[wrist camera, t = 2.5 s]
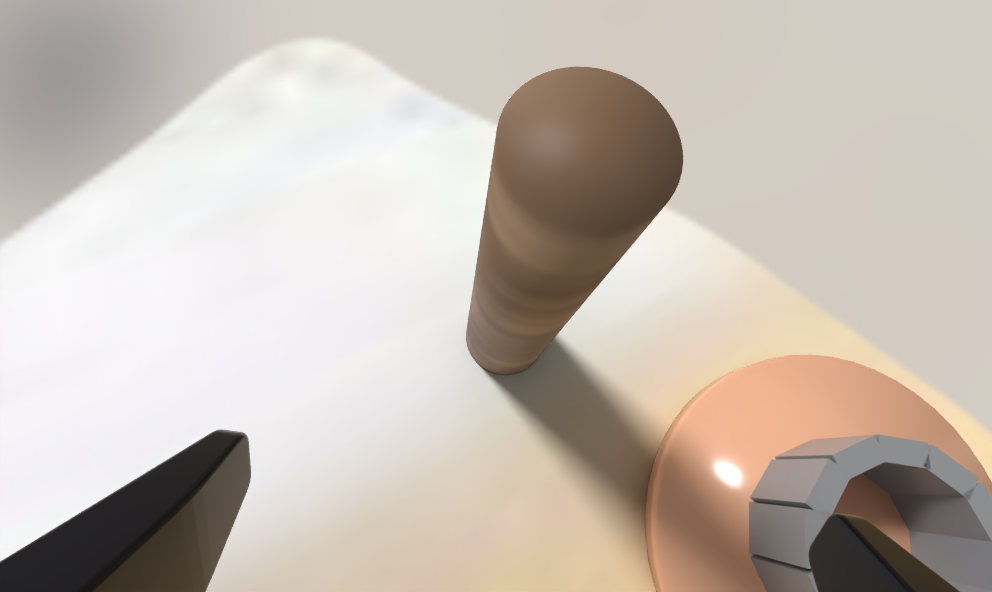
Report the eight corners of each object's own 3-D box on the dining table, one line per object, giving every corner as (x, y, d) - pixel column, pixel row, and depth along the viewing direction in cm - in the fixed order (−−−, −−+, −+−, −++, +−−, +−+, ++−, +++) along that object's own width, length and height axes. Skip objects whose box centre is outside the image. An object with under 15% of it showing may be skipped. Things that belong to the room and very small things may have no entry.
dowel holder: (1060, 644, 19) (1221, 691, 15) (758, 833, 17) (856, 949, 13) (862, 316, 22) (953, 283, 18) (586, 432, 20) (621, 424, 16)
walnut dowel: (554, 358, 21) (716, 198, 8) (482, 386, 20) (540, 258, 8) (525, 289, 21) (632, 48, 9) (455, 314, 21) (467, 92, 8)
